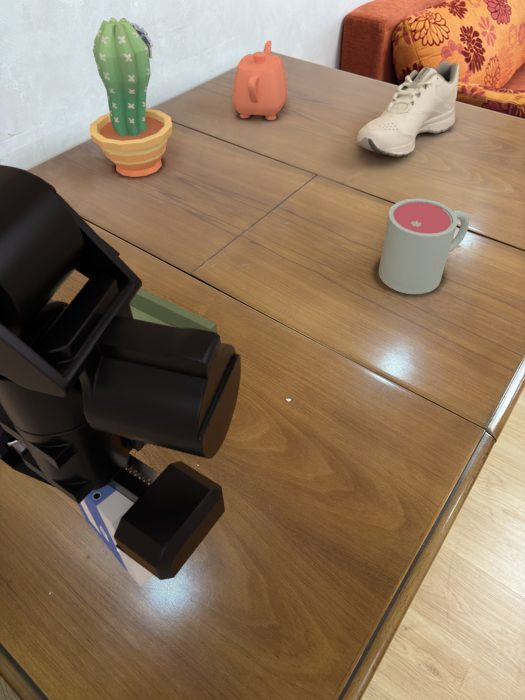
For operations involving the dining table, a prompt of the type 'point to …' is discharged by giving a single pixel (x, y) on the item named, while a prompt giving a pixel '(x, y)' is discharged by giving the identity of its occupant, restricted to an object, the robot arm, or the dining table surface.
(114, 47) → the potted cactus
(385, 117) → the running shoe
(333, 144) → the dining table surface
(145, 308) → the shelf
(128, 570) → the walkman
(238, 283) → the dining table surface
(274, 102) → the teapot
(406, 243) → the mug
